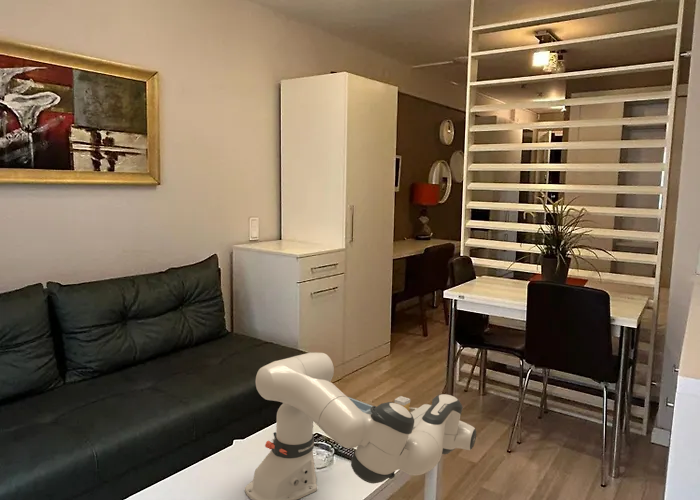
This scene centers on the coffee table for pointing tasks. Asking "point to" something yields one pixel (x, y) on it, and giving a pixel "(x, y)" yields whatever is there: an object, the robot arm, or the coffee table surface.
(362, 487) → the coffee table surface
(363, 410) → the parts tray
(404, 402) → the block
